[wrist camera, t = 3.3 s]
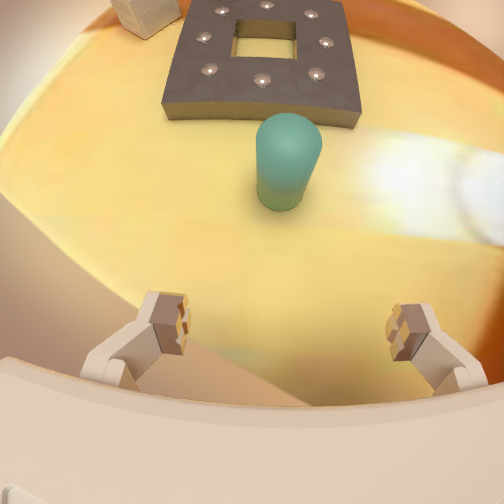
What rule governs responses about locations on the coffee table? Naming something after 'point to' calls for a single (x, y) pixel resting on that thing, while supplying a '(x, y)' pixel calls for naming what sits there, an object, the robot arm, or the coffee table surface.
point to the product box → (146, 15)
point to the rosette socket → (264, 63)
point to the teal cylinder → (285, 159)
